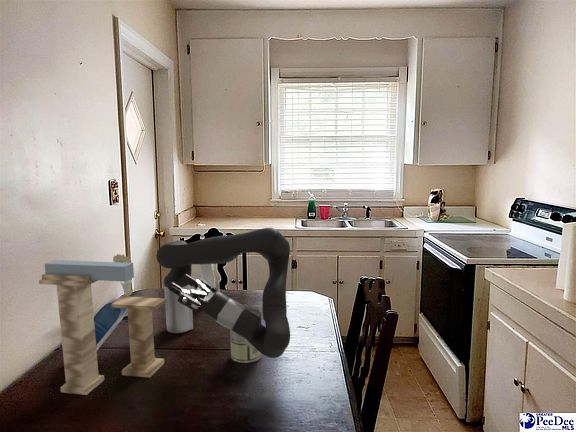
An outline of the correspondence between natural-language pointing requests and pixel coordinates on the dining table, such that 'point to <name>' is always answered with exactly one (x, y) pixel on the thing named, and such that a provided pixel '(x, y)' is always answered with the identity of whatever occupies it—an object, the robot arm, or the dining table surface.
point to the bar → (92, 269)
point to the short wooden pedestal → (141, 335)
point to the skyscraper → (209, 274)
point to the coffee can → (244, 346)
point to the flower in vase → (126, 284)
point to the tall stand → (76, 332)
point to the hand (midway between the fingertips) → (176, 280)
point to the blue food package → (108, 320)
